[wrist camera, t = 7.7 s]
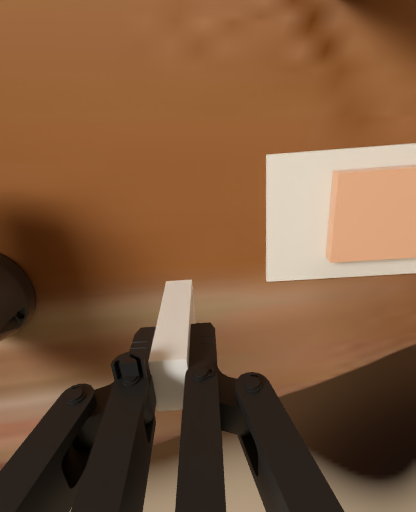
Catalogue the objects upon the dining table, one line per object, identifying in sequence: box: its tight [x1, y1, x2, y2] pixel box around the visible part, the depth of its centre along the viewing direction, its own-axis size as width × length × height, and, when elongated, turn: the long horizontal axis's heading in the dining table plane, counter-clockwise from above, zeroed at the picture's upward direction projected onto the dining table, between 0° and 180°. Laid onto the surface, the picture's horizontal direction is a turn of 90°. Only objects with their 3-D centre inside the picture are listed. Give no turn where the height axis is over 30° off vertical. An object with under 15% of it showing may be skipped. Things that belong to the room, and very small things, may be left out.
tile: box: [326, 165, 416, 263], centre depth 40 cm, size 2×12×12 cm
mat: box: [266, 143, 416, 282], centre depth 42 cm, size 22×18×1 cm
